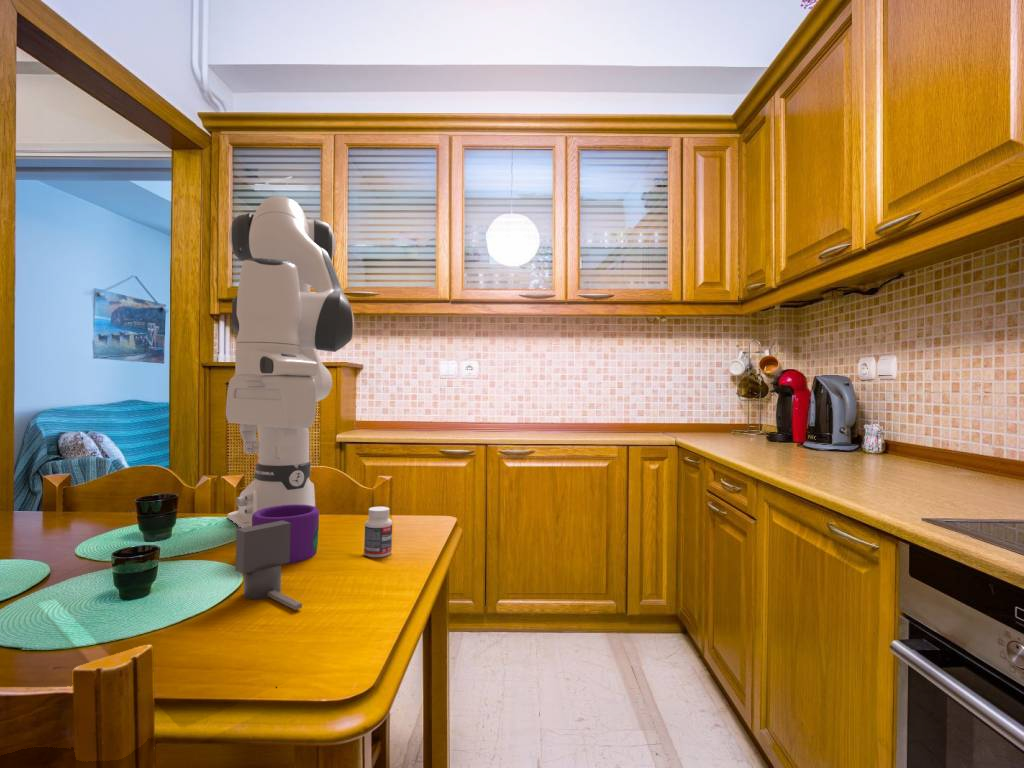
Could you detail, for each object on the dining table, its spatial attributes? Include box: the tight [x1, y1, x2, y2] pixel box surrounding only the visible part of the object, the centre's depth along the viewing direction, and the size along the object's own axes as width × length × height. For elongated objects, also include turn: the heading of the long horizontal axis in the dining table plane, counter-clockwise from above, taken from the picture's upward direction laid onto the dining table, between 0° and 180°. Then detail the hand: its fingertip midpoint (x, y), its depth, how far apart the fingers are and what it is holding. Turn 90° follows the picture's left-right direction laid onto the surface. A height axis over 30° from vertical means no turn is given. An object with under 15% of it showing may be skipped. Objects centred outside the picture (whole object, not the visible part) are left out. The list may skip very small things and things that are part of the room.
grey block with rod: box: [235, 520, 303, 611], centre depth 76 cm, size 12×7×10 cm, turn 52°
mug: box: [252, 504, 320, 565], centre depth 99 cm, size 17×11×10 cm, turn 17°
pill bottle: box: [363, 506, 393, 559], centre depth 103 cm, size 5×5×9 cm
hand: (266, 456), depth 79 cm, fingers open, 8 cm apart
